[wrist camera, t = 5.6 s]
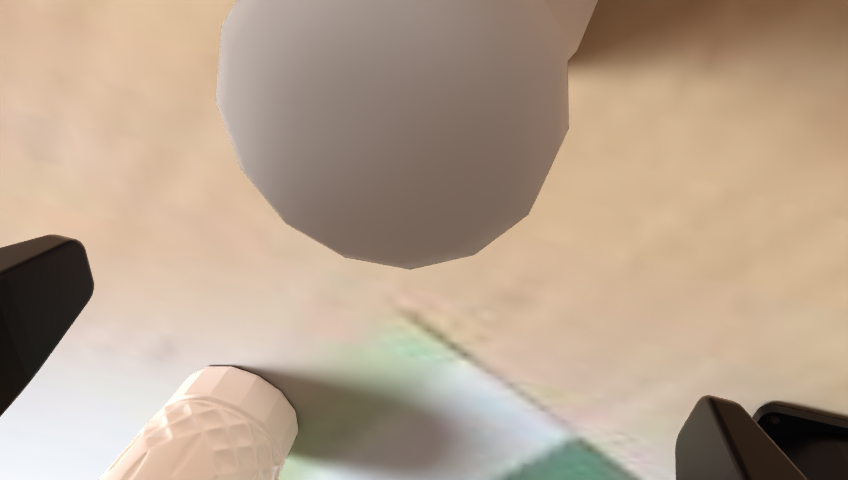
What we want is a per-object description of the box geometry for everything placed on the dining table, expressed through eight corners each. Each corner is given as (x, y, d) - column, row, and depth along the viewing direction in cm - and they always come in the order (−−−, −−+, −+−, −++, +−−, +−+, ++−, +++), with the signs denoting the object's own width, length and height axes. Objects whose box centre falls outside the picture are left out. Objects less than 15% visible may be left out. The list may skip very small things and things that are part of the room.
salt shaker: (618, -131, 15) (762, -173, 4) (573, 83, 18) (586, 380, 7) (404, -146, 16) (47, -212, 5) (397, 61, 19) (172, 299, 8)
